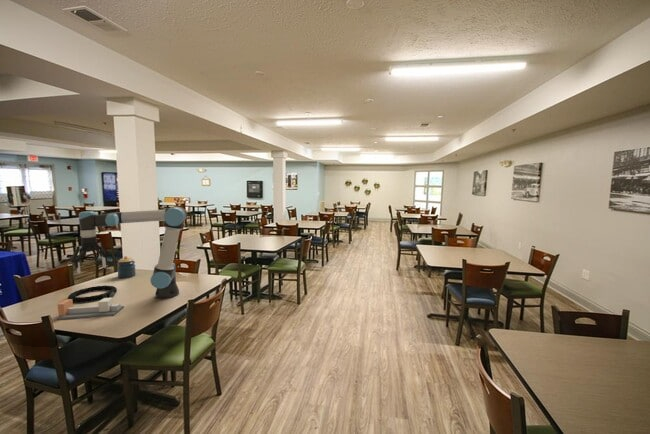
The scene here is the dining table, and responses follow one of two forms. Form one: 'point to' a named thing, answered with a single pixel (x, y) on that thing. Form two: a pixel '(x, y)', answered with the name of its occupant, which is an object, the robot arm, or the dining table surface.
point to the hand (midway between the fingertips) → (92, 270)
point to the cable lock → (93, 298)
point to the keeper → (105, 304)
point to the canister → (126, 267)
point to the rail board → (90, 314)
